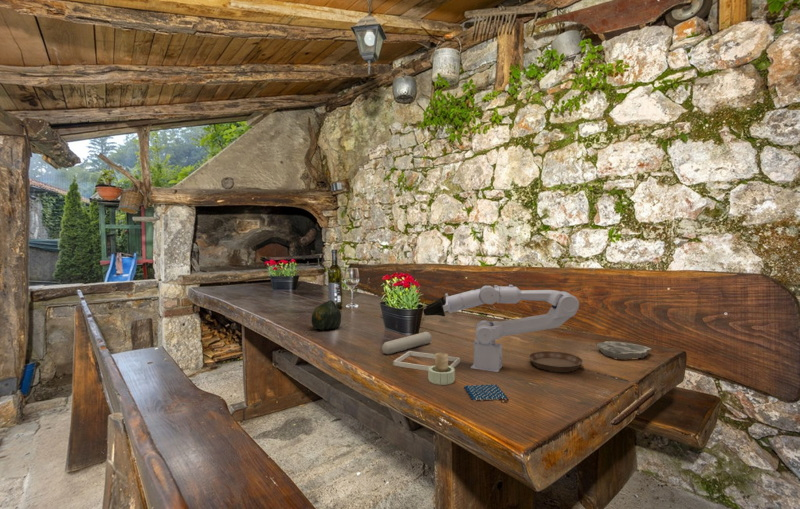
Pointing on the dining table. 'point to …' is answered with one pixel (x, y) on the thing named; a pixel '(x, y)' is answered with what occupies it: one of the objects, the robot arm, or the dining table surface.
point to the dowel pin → (441, 362)
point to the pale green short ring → (441, 376)
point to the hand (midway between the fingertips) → (425, 310)
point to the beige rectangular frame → (419, 354)
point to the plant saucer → (555, 361)
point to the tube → (406, 343)
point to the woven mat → (485, 393)
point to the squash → (326, 316)
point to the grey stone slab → (623, 350)
